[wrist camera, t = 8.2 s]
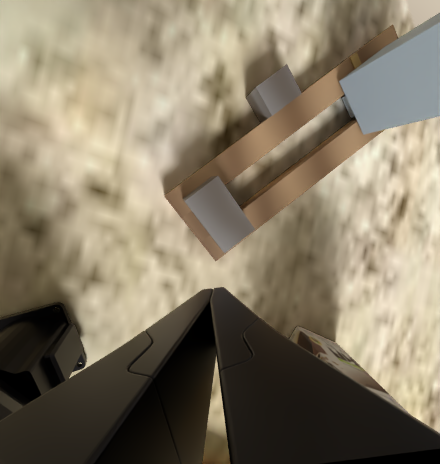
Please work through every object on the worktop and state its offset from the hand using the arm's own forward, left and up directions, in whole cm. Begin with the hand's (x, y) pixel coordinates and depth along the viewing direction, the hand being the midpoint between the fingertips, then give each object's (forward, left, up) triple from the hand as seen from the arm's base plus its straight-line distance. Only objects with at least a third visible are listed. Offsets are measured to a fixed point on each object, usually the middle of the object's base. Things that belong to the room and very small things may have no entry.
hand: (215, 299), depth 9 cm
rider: (+18, +8, -13) cm, 24 cm away
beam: (+11, +6, -13) cm, 18 cm away
